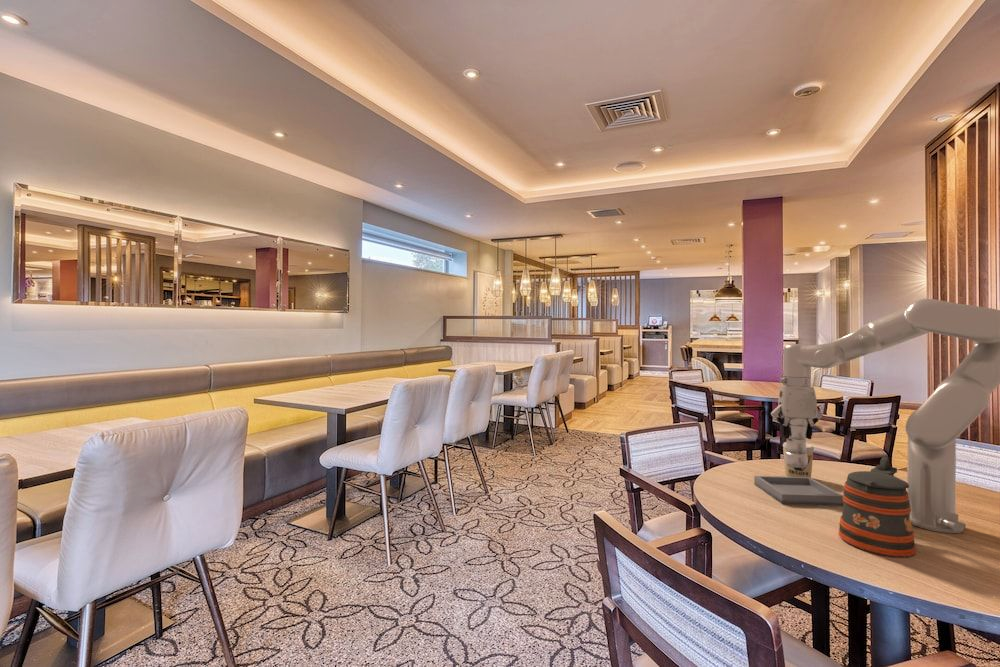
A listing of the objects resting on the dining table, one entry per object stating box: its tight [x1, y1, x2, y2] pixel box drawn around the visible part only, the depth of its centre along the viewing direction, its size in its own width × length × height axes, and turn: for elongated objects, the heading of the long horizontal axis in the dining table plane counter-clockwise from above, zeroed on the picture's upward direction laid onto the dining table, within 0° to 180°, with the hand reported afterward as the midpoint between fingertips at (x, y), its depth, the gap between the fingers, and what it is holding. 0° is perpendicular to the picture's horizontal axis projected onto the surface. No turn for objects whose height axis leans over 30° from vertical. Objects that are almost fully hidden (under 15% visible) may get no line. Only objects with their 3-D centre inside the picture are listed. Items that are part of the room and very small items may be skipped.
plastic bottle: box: [783, 418, 808, 468], centre depth 145 cm, size 6×7×20 cm
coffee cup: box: [782, 441, 815, 478], centre depth 162 cm, size 9×9×12 cm
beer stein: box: [838, 455, 916, 558], centre depth 113 cm, size 19×15×20 cm
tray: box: [753, 475, 844, 507], centre depth 145 cm, size 18×18×3 cm
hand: (796, 437), depth 145 cm, fingers closed on plastic bottle, 6 cm apart
